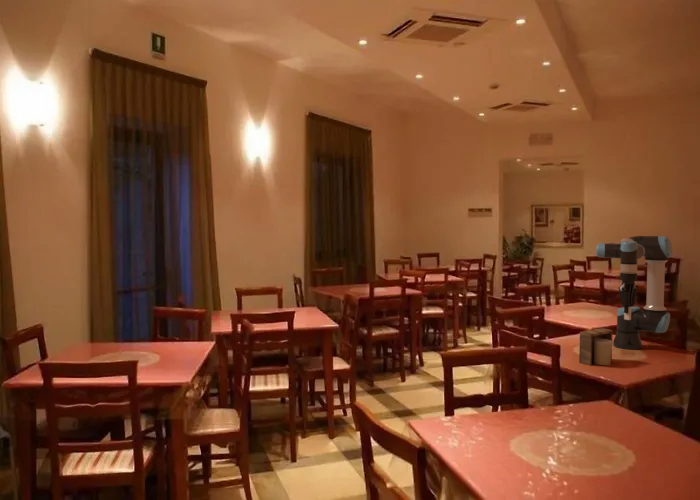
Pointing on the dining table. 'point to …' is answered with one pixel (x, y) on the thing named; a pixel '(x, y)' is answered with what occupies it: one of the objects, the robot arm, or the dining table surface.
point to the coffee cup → (602, 351)
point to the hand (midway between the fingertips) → (627, 319)
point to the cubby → (591, 343)
